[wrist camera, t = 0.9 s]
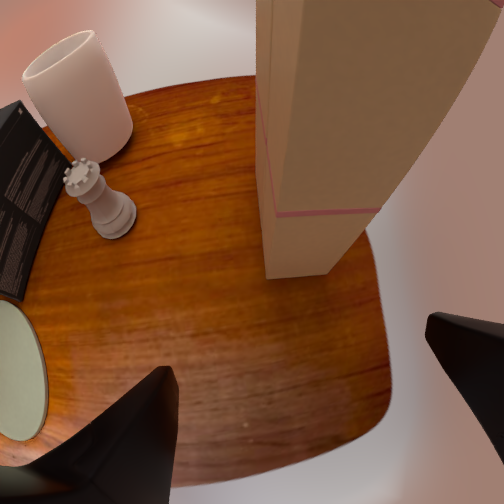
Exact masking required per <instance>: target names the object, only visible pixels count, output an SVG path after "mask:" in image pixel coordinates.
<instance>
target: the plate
mask: <svg viewBox="0 0 504 504" xmlns="http://www.w3.org/2000/svg"><path fill="white" fill-rule="evenodd" d="M47 408H48V380H47V372H46V366H45V361H44V357H43V353H42V349H41V346H40V343H39V340H38V337H37V335H36V333H35V331H34V328H33V327H32V325H31V323H30V321H29V320H28V318H27V317H26V315H25V314H24V313H23V312H22V311H21V310H20V309H19V308H18V307H17V306H16V305H14V304H12V303H10V302H7V301H4V300H0V432H1V433H2V434H3V435H5V436H6V437H8V438H10V439H13V440H16V441H25V440H29V439H31V438H33V437H35V436H36V435H37V434H38V433H39V431H40V430H41V428H42V426H43V424H44V421H45V418H46V414H47Z"/></svg>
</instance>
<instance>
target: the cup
mask: <svg viewBox="0 0 504 504" xmlns="http://www.w3.org/2000/svg"><path fill="white" fill-rule="evenodd" d="M22 82H23V84H24V86H25V88H26V90H27V92H28V94H29V96H30V98H31V100H32V102H33V104H34V105H35V107H36V109H37V110H38V112H39V114H40V115H41V117H42V118H43V119H44V121H45V122H46V124H47V125H48V126H49V128H50V129H51V130H52V132H53V133H54V134H55V136H56V137H57V138H58V140H59V141H60V142H61V143H62V144H63V145H64V147H65V148H66V149H67V150H68V151H69V152H70V154H71V155H72V156H73V157H74V158H75V159H76V160H77V161H78V162H79V163H80V162H81V158H87V160H88V161H89V160H90V161H94V162H96V163H97V164H98V163H100V162H103V161H105V160H107V159H109V158H110V157H112V156H113V155H115V154H116V153H117V152H118V151H119V150H121V149H122V148H123V146H124V145H125V144H126V143H127V141H128V140H129V138H130V136H131V133H132V130H133V123H132V120H131V117H130V114H129V111H128V108H127V105H126V102H125V99H124V97H123V94H122V92H121V89H120V86H119V83H118V81H117V79H116V76H115V73H114V71H113V68H112V66H111V64H110V62H109V60H108V57H107V55H106V53H105V51H104V49H103V47H102V45H101V43H100V41H99V39H98V37H97V35H96V33H95V32H94V31H90V30H87V31H82V32H79V33H76V34H73V35H71V36H69V37H67V38H65V39H63V40H61V41H59V42H58V43H56V44H55V45H53V46H52V47H50V48H49V49H47V50H46V51H44V52H43V53H42V54H41V55H40V56H39V57H37V58H36V59H35V60H34V61H33V62H32V63H31V64H30V66H28V68H27V69H26V70H25V72H24V73H23V75H22Z"/></svg>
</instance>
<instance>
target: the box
mask: <svg viewBox="0 0 504 504" xmlns="http://www.w3.org/2000/svg"><path fill="white" fill-rule="evenodd" d="M71 167H72V163H71V162H70V161H68V160H67V158H66V157H65V156H64V155H63V154H62V153H61V151H60V150H59V149H58V148H57V147H56V145H55V144H54V143H53V142H52V141H51V139H50V138H49V137H48V136H47V135H46V133H45V132H44V131H43V130H42V128H41V127H40V126H39V125H38V123H37V122H36V121H35V119H34V118H33V117H32V115H31V114H30V113H29V112H28V110H27V109H26V108H25V106H24V105H23V103H22V101H21V100H18V101H17V102H14V103H12V104H10V105H8V106H6V107H4V108H2V109H0V294H1V295H3V296H6V297H9V298H11V299H14V300H16V301H18V302H22V300H23V295H24V290H25V286H26V282H27V278H28V274H29V271H30V268H31V264H32V261H33V258H34V255H35V252H36V249H37V246H38V243H39V240H40V237H41V234H42V232H43V229H44V227H45V224H46V221H47V219H48V216H49V214H50V212H51V209H52V207H53V204H54V202H55V200H56V197H57V195H58V193H59V191H60V189H61V187H62V185H63V183H64V180H63V178H64V177H67V176H66V174H65V171H66V169H67V168H69V169H71Z"/></svg>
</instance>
